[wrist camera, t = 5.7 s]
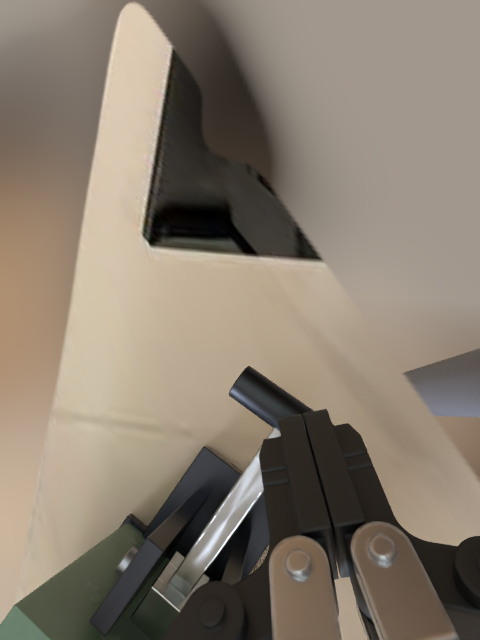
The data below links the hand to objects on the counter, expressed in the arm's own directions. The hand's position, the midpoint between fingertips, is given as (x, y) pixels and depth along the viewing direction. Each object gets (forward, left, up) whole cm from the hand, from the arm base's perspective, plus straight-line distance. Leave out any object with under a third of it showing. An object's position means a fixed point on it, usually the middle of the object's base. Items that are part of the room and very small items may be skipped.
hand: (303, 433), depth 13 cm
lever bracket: (+10, 0, -21) cm, 24 cm away
